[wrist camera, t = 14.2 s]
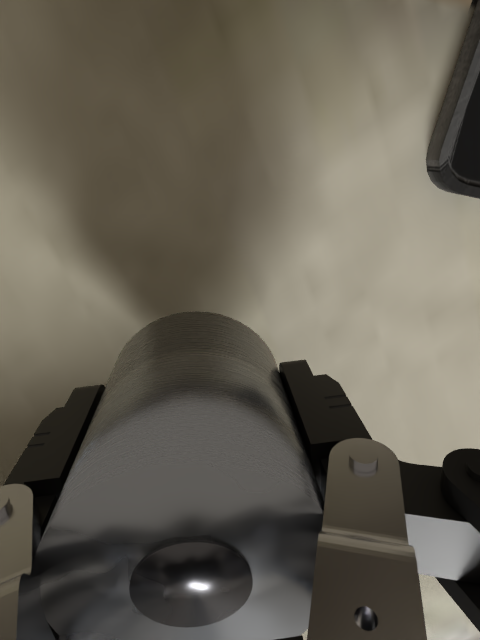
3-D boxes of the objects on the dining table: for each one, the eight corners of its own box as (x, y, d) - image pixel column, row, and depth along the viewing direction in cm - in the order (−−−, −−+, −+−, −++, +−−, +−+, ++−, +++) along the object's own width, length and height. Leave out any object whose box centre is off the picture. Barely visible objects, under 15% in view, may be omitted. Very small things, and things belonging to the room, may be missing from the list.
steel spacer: (273, 300, 11) (340, 443, 6) (284, 443, 13) (343, 654, 8) (93, 323, 11) (-19, 494, 6) (131, 465, 13) (77, 698, 7)
